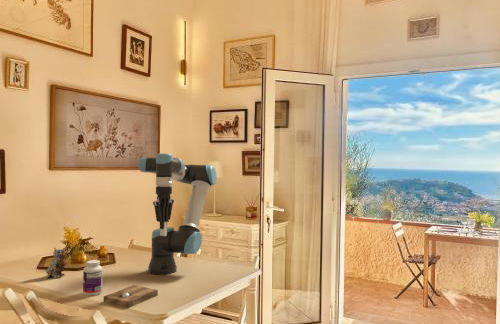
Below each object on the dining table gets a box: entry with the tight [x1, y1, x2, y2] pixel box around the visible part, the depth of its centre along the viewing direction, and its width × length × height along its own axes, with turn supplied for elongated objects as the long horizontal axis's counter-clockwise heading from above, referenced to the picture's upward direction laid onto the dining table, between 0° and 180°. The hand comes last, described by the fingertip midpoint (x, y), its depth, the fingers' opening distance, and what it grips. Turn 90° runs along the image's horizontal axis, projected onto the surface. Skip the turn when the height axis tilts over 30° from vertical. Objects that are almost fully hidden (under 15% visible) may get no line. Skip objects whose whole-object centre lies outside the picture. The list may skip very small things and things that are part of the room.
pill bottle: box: [82, 259, 103, 296], centre depth 186 cm, size 8×8×14 cm
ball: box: [122, 293, 130, 298], centre depth 177 cm, size 4×4×4 cm
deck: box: [103, 284, 159, 309], centre depth 180 cm, size 14×18×2 cm
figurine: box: [45, 247, 67, 280], centre depth 212 cm, size 9×9×15 cm
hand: (163, 235), depth 197 cm, fingers closed
